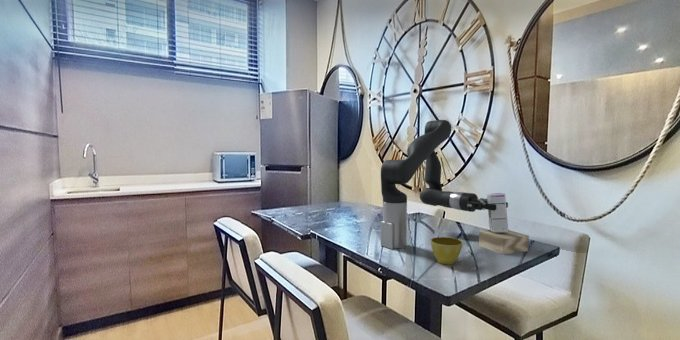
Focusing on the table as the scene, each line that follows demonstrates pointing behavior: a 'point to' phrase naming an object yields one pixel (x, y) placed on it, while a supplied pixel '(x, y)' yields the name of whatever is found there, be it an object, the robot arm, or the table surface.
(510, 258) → the table surface
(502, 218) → the syrup box
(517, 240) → the birch block
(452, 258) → the flower pot
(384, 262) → the table surface
